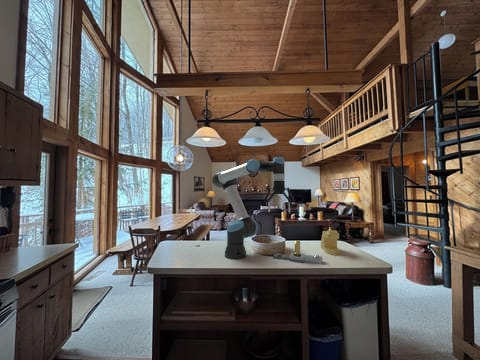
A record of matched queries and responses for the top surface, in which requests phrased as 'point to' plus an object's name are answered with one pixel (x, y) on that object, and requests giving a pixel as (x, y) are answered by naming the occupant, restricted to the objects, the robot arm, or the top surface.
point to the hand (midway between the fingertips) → (279, 212)
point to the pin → (297, 248)
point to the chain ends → (300, 258)
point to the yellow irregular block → (330, 242)
